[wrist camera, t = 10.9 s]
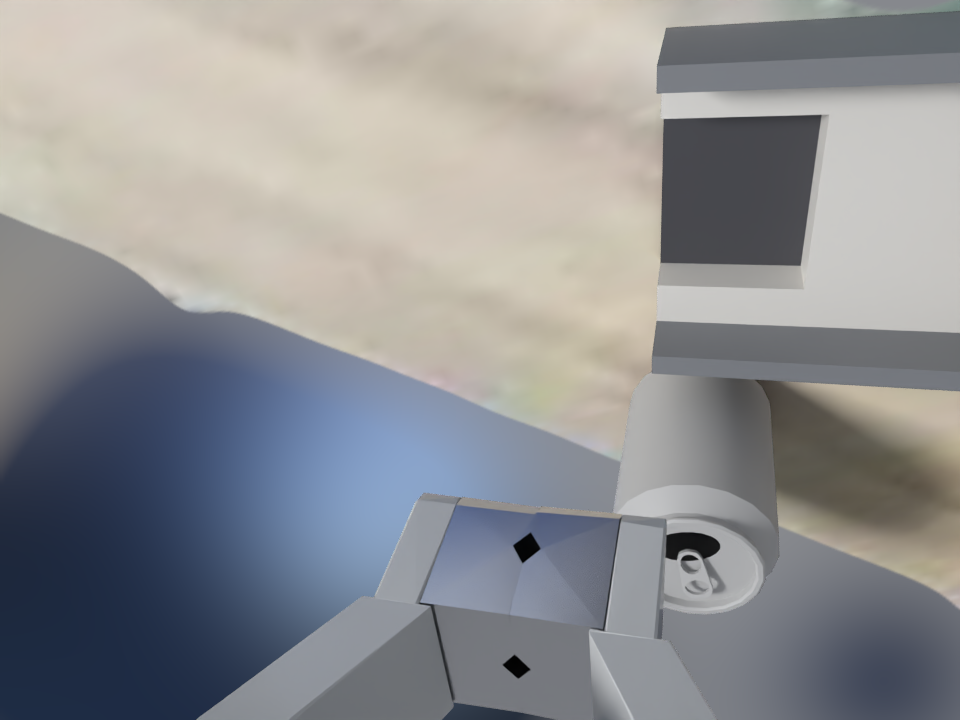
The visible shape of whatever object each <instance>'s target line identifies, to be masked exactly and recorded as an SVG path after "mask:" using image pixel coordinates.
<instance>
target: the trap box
mask: <svg viewBox="0 0 960 720" xmlns="http://www.w3.org/2000/svg"><path fill="white" fill-rule="evenodd" d="M658 93H661V119H664V133H663V177H662V222H661V263H660V271H659V278H658V285H657V323H656V330H655V338H654V346H653V354H652V374H667V375H684V376H702V377H719V378H737V379H754V380H772V381H789V382H807V383H824V384H842V385H859V386H877V387H894V388H912V389H929V390H947V391H960V11H956V12H938V13H920V14H903V15H885V16H868V17H850V18H832V19H815V20H797V21H779V22H762V23H744V24H727V25H709V26H691V27H674V28H666V31H665V35H664V39H663V43H662V48H661V52H660V56H659V60H658V64H657V94H658Z"/></svg>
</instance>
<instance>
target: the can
mask: <svg viewBox="0 0 960 720" xmlns="http://www.w3.org/2000/svg"><path fill="white" fill-rule="evenodd" d="M613 513H615V514H622V516H623V515H633V516H643V517H653V518H663V519H666V520H667V536H666V560H665V583H664V607H665V608H669V609H673V610H676V611H680V612H684V613H695V614H712V613H720V612H727V611H730V610H732V609H735V608H737V607H740V606H742V605H745V604H747V603H748V602H749V601H750V600H752V599H753V598H754V597H755V596H756V595H758V594H759V593H760V591H761V588H762V587H763V585H764V583H765V580H766V577H767V576H768V575H769V574H770V573H771V572H772V570H773V568H774V566H775V564H776V562H777V560H778V558H779V531H778V515H777V500H776V485H775V470H774V455H773V440H772V425H771V410H770V402H769V400H768V398H767V396H766V394H765V392H764V390H763V388H762V386H761V385H760V384H759V383H757V382H756V381H755V380H754V379H737V378H719V377H702V376H684V375H667V374H652V372H650V373H649V374H647V375H646V376H644V378H643V379H642V380H641V382H640V383H639V384H638V386H637V387H636V388H635V390H634V391H633V395H632V399H631V403H630V407H629V413H628V419H627V426H626V432H625V439H624V445H623V452H622V458H621V465H620V472H619V478H618V484H617V491H616V497H615V503H614V510H613Z"/></svg>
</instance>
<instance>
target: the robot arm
mask: <svg viewBox="0 0 960 720" xmlns="http://www.w3.org/2000/svg"><path fill="white" fill-rule="evenodd" d="M666 536H667V520H666V519H663V518H653V517H643V516H633V515H623V516H622V514H615V513H604V512H593V511H584V510H573V509H563V508H552V507H542V506H541V507H533V506H526V505H518V504H511V503H503V502H496V501H488V500H481V499H473V498H465V497H462V498H461V497H454V496H445V495H437V494H430V493H423V494H422V496H421V497H420V498H419V499H418V500H417V501H416V502H415V504H414V507H413V509H412V511H411V513H410V516H409V518H408V520H407V522H406V525H405V527H404V529H403V532H402V534H401V537H400V539H399V541H398V543H397V545H396V548H395V550H394V552H393V555H392V557H391V559H390V562H389V564H388V566H387V568H386V571H385V573H384V575H383V578H382V580H381V582H380V585H379V587H378V589H377V591H376V594H375V596H374V597H365V596H362V597H361V598H359V599H358V600H357V601H355V602H354V603H353V604H352V605H350V606H349V607H347V608H346V609H344V610H343V611H342V612H340V613H339V614H338V615H337V616H335V617H334V618H332V619H331V620H330V621H328V622H327V623H326V624H324V625H323V626H322V627H321V628H319V629H318V630H316V631H315V632H314V633H312V634H311V635H310V636H308V637H307V638H305V639H304V640H303V641H301V642H300V643H299V644H298V645H296V646H295V647H293V648H292V649H291V650H289V651H288V652H287V653H285V654H284V655H283V656H281V657H280V658H279V659H277V660H276V661H275V662H273V663H272V664H271V665H269V666H268V667H266V668H265V669H264V670H263V671H261V672H260V673H259V674H257V675H256V676H254V677H253V678H252V679H250V680H249V681H248V682H246V683H245V684H244V685H242V686H241V687H240V688H238V689H237V690H236V691H234V692H233V693H232V694H230V695H229V696H228V697H226V698H225V699H224V700H222V701H221V702H220V703H218V704H217V705H216V706H214V707H213V708H211V709H210V710H209V711H207V712H206V713H205V714H203V715H202V716H201V717H199V718H198V719H197V720H442V719H443V718H444V717H445V716H446V714H447V713H448V712H449V711H450V710H451V709H452V708H453V702H455V703H462V704H469V705H475V706H482V707H489V708H495V709H502V710H509V711H515V712H522V713H527V714H532V715H536V716H542V717H546V718H551V719H556V720H717V718H716V716H715V715H714V713H713V711H712V709H711V708H710V706H709V704H708V703H707V701H706V699H705V698H704V696H703V694H702V693H701V691H700V689H699V688H698V686H697V684H696V683H695V681H694V679H693V678H692V676H691V674H690V673H689V671H688V669H687V668H686V666H685V664H684V662H683V661H682V659H681V658H680V656H679V654H678V652H677V651H676V649H675V647H674V646H673V644H672V642H671V641H666V640H662V630H663V607H664V583H665V560H666Z"/></svg>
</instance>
